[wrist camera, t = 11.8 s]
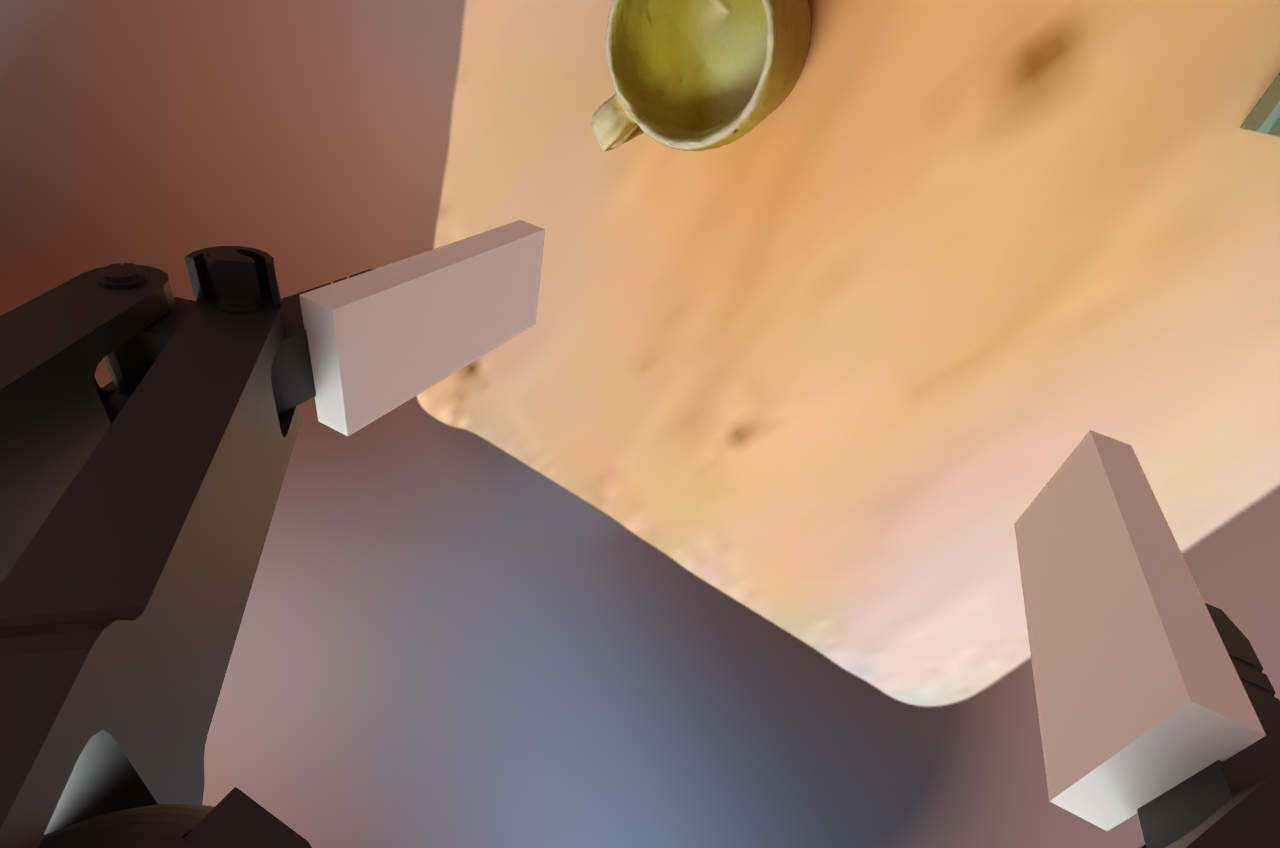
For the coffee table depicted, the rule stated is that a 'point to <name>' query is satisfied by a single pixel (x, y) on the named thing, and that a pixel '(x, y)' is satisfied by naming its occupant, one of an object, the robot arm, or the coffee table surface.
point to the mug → (699, 68)
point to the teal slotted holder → (1266, 112)
